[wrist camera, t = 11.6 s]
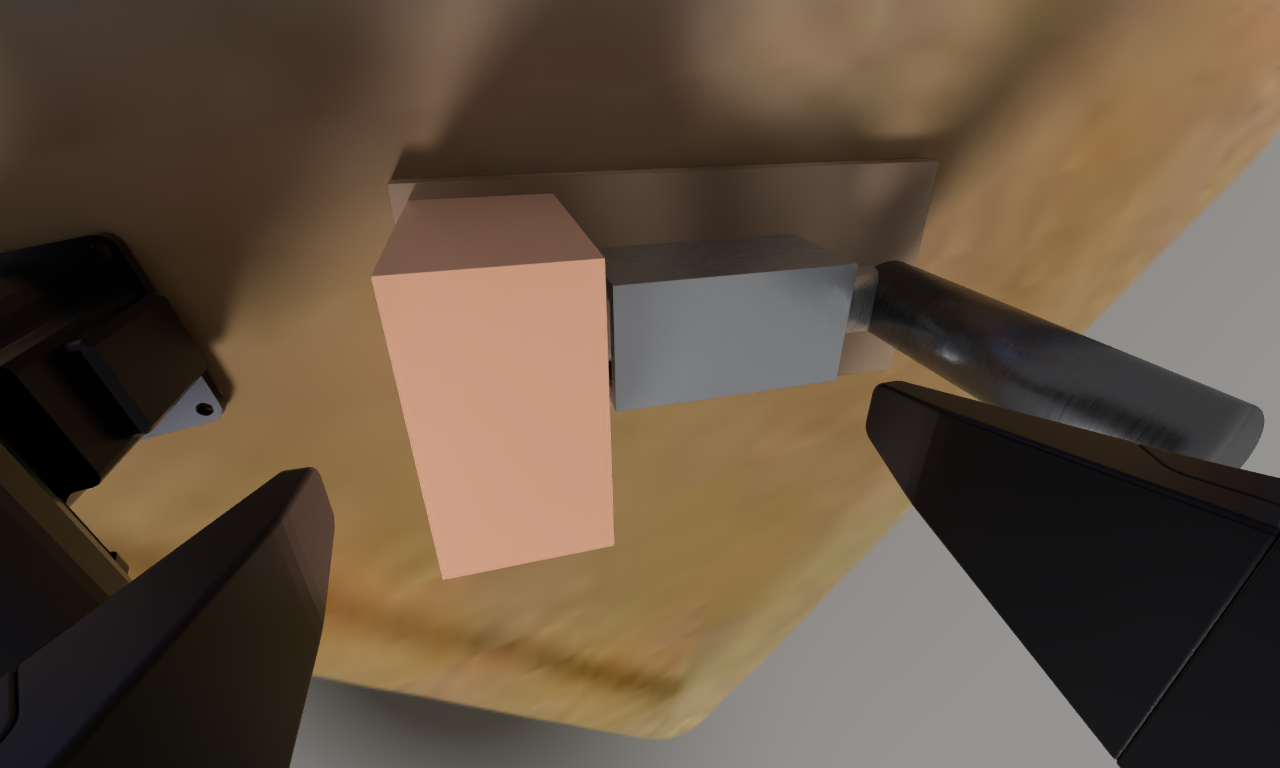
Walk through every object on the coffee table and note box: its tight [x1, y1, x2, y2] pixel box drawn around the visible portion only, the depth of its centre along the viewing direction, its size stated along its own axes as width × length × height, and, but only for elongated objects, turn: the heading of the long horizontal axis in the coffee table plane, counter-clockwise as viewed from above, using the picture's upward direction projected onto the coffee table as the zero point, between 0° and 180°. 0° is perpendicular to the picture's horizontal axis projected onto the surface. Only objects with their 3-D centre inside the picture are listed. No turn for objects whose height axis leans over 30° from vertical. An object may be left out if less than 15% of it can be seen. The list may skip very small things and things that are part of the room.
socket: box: [371, 193, 614, 580], centre depth 16 cm, size 4×8×8 cm, turn 0°
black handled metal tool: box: [606, 260, 1264, 469], centre depth 16 cm, size 16×3×12 cm, turn 90°
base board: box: [387, 158, 940, 409], centre depth 22 cm, size 20×9×1 cm, turn 90°
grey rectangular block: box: [597, 234, 858, 412], centre depth 20 cm, size 8×4×4 cm, turn 90°
